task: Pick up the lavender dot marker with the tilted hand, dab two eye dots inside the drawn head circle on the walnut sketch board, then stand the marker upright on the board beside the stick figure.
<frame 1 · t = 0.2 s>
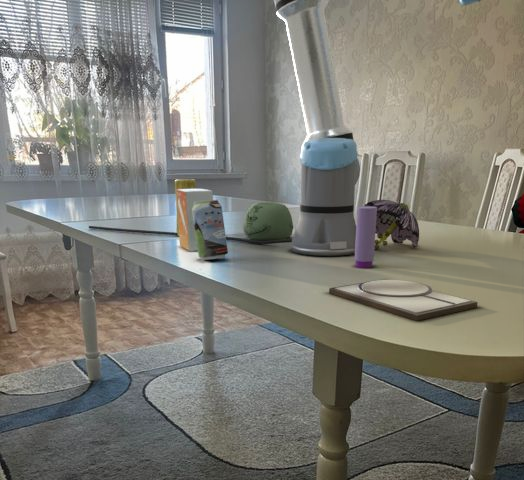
sketch board: (399, 299, 80), on the table
decorative flower: (390, 248, 124), on the table
dot marker: (363, 266, 104), on the table
green printed package: (211, 260, 112), on the table
small box: (197, 248, 126), on the table
vase: (188, 236, 145), on the table
green rounded lump: (265, 238, 141), on the table
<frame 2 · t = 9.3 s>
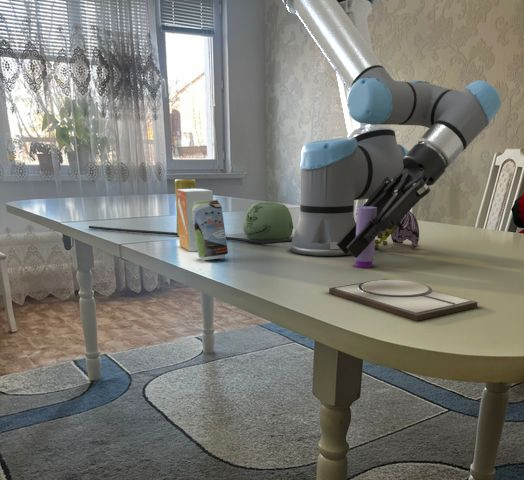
hand: (346, 250, 102), 3 cm above the table, tool tilted 45°, fingers closed on dot marker, 4 cm apart
dot marker: (363, 266, 104), on the table, touching gripper
everything else where it was.
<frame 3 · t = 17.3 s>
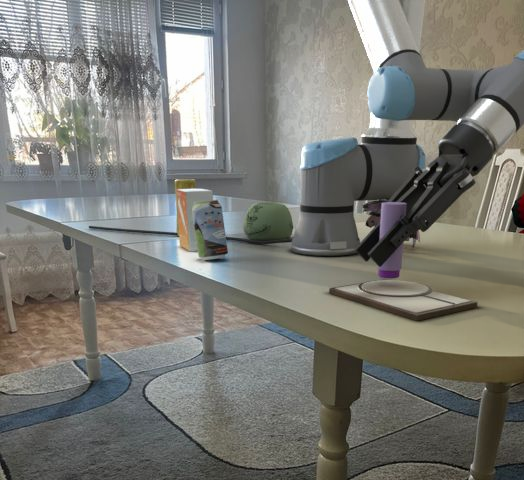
hand: (367, 257, 82), 6 cm above the table, tool tilted 45°, fingers closed on dot marker, 4 cm apart
decorative flower: (391, 247, 125), on the table, touching arm
dot marker: (388, 276, 84), point 2 cm above the table, touching gripper
everything else where it was.
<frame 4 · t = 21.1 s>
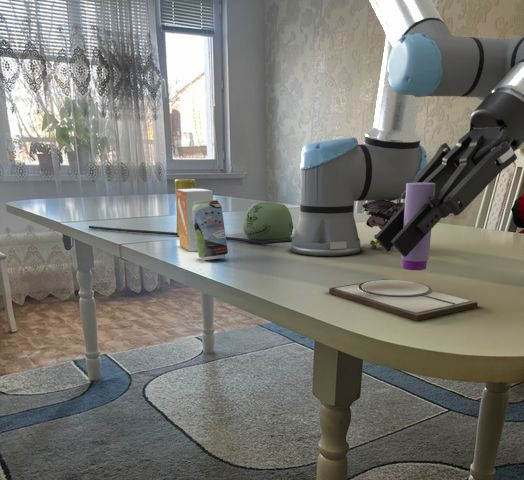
hand: (389, 246, 71), 9 cm above the table, tool tilted 45°, fingers closed on dot marker, 4 cm apart
dot marker: (414, 267, 73), point 6 cm above the table, touching gripper
everything else where it was.
when the fingers open (4 cm above the table, at t = 23.0 s): dot marker stays where it is, resting on sketch board.
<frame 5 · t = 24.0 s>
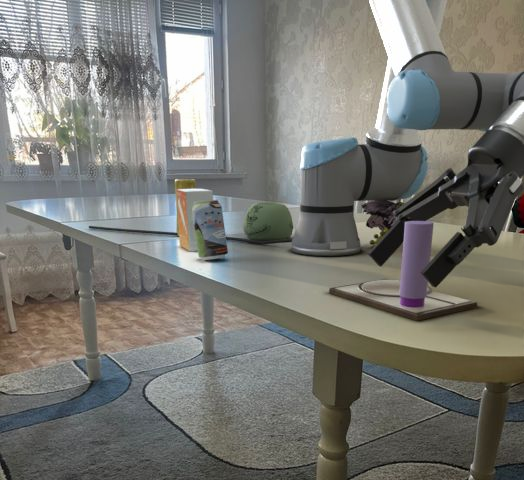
hand: (398, 269, 72), 6 cm above the table, tool tilted 45°, fingers open, 13 cm apart
dot marker: (411, 304, 74), point 1 cm above the table, touching sketch board
everything else where it was.
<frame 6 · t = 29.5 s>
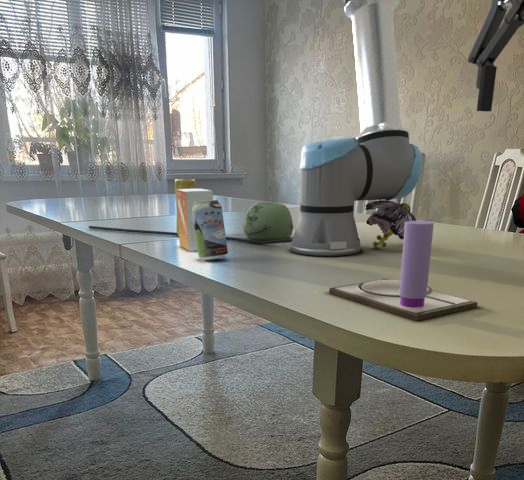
hand: (522, 108, 82), 27 cm above the table, tool pointing down, fingers open, 13 cm apart
at the end: dot marker 0.1 cm from the target spot on the sketch board, point 0.9 cm above the sketch board's base; dot marker tilted 0°; dot marker moved 31.4 cm from its start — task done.
